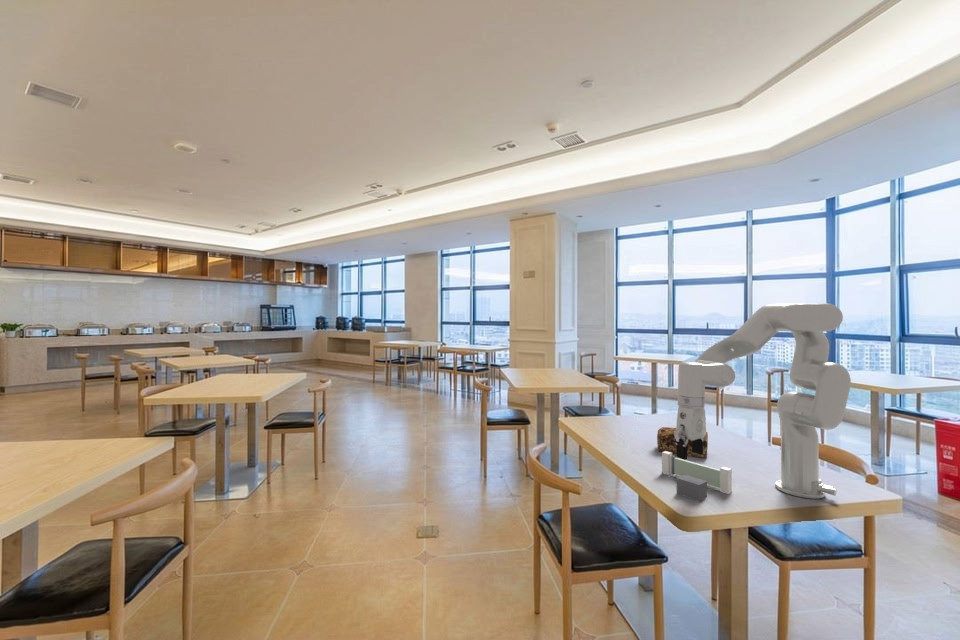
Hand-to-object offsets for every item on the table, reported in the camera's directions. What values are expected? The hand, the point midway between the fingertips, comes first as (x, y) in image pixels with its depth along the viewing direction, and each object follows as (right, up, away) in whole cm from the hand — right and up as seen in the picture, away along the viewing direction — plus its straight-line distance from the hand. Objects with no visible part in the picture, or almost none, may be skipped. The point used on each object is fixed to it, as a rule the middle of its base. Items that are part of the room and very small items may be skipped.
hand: (689, 455), depth 128 cm
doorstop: (+1, -13, 0) cm, 13 cm away
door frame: (+8, -12, +9) cm, 17 cm away
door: (+7, -12, +10) cm, 17 cm away
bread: (+18, -13, +42) cm, 47 cm away
